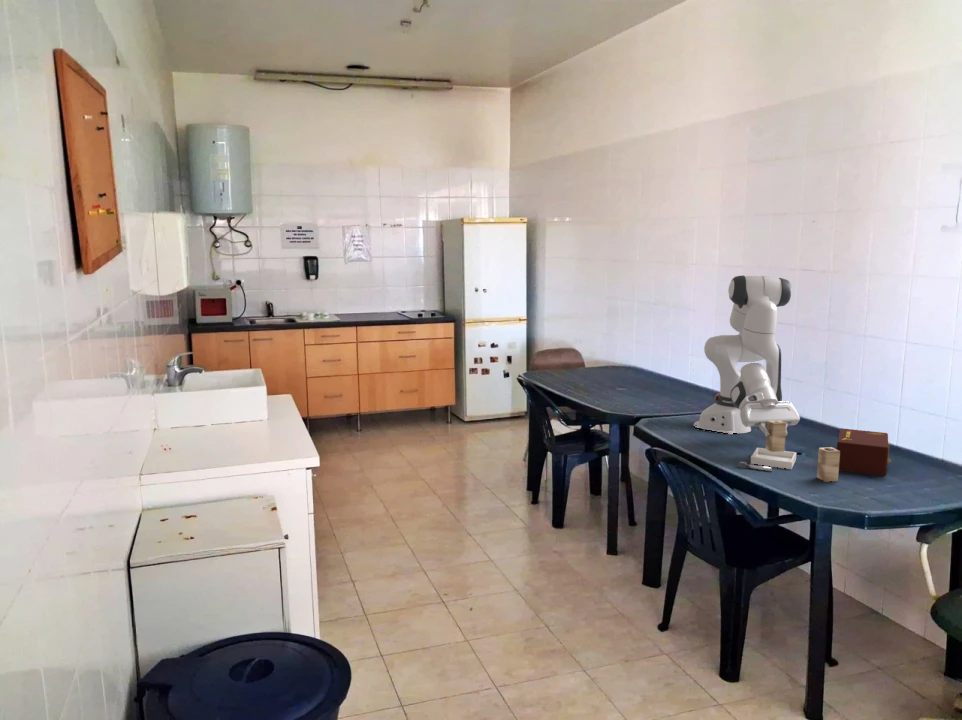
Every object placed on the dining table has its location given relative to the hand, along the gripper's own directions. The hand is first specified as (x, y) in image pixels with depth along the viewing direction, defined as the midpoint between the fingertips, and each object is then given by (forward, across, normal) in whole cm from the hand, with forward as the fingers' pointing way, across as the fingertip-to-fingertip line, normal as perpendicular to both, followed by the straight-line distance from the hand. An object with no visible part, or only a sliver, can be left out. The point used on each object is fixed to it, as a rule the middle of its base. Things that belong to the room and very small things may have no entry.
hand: (776, 435), depth 253 cm
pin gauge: (+11, +10, -3) cm, 15 cm away
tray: (+6, 0, -8) cm, 10 cm away
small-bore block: (+3, 0, -4) cm, 5 cm away
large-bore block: (+20, -8, +6) cm, 23 cm away
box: (+12, -29, -3) cm, 31 cm away
